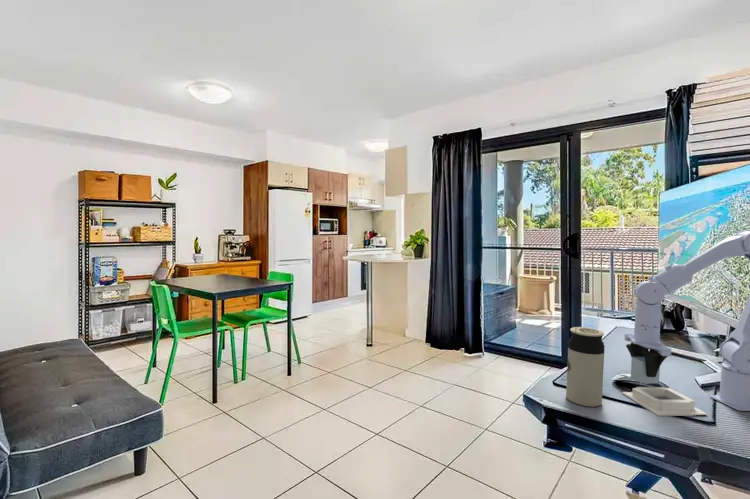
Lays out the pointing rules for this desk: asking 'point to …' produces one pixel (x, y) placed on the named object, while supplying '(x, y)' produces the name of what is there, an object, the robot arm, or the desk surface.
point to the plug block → (641, 371)
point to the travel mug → (585, 366)
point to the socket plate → (664, 401)
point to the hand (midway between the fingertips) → (644, 373)
